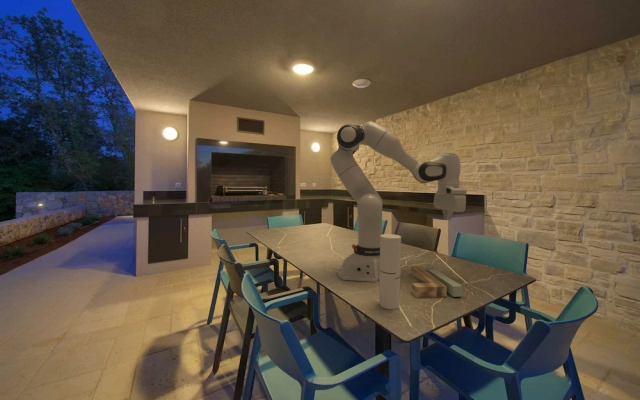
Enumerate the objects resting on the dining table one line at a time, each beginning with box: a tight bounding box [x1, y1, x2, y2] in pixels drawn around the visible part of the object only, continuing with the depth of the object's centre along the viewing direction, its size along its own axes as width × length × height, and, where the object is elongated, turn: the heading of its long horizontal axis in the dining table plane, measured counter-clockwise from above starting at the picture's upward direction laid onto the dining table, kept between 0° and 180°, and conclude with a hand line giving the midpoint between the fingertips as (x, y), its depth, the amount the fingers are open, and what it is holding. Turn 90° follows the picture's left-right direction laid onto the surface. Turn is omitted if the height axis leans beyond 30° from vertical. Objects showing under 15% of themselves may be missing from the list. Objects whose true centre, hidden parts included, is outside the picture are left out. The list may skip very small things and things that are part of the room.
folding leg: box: [425, 264, 463, 298], centre depth 108 cm, size 23×4×5 cm, turn 5°
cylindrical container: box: [378, 233, 402, 310], centre depth 91 cm, size 7×7×25 cm
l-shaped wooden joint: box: [410, 265, 448, 298], centre depth 109 cm, size 13×24×4 cm, turn 3°
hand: (447, 219), depth 115 cm, fingers closed
